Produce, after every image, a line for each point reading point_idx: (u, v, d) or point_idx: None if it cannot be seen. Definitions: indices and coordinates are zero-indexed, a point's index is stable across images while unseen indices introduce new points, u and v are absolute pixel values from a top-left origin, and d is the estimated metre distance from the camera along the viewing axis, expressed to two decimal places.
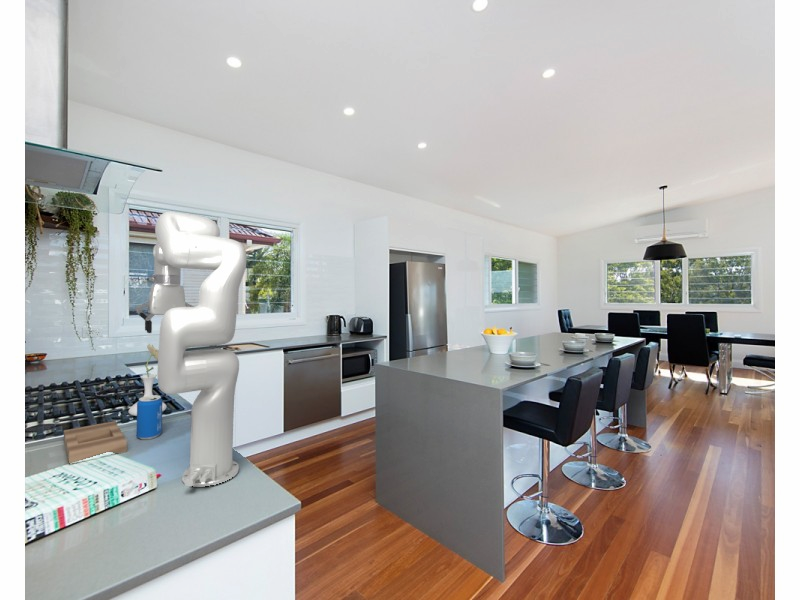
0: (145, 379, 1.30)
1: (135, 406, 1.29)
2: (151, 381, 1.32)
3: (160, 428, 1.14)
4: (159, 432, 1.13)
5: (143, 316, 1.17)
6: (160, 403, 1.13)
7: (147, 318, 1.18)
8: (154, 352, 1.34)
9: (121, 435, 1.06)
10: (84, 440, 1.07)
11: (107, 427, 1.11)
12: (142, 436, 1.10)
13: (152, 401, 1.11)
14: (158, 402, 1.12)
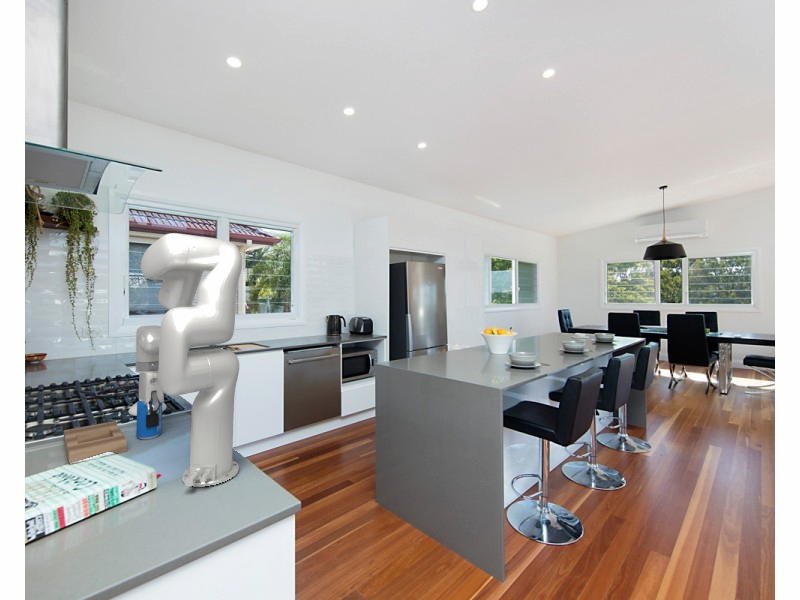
0: None
1: (135, 406, 1.29)
2: None
3: (160, 428, 1.14)
4: (159, 432, 1.13)
5: None
6: (160, 403, 1.13)
7: (158, 411, 1.11)
8: None
9: (121, 435, 1.06)
10: (84, 440, 1.07)
11: (107, 427, 1.11)
12: (142, 436, 1.10)
13: None
14: (158, 402, 1.12)
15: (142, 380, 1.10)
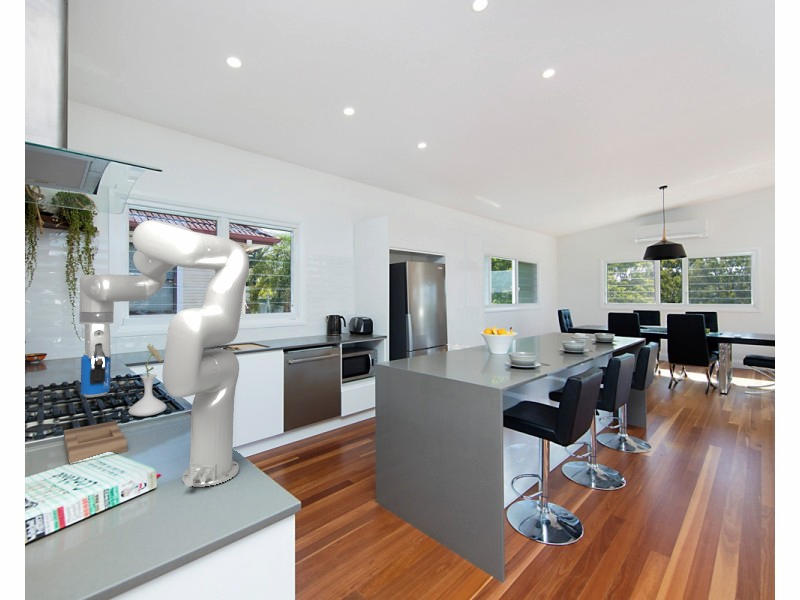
0: (145, 379, 1.30)
1: (135, 406, 1.29)
2: (151, 381, 1.32)
3: (108, 386, 1.05)
4: (106, 390, 1.05)
5: None
6: (107, 358, 1.05)
7: None
8: (154, 352, 1.34)
9: (121, 435, 1.06)
10: (84, 440, 1.07)
11: (107, 427, 1.11)
12: (86, 393, 1.02)
13: None
14: (105, 357, 1.04)
15: (86, 332, 1.01)
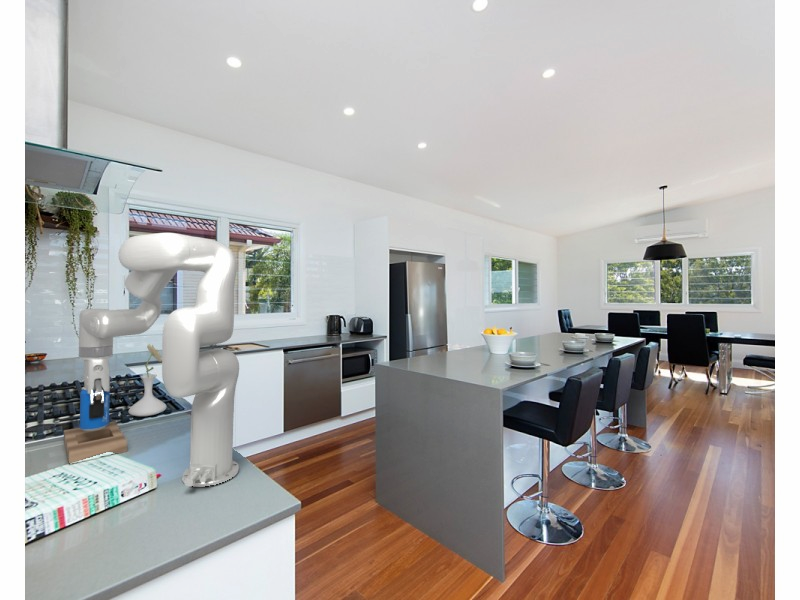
0: (145, 379, 1.30)
1: (135, 406, 1.29)
2: (151, 381, 1.31)
3: (106, 419, 1.06)
4: (105, 423, 1.05)
5: None
6: (106, 392, 1.05)
7: None
8: (154, 352, 1.34)
9: (121, 435, 1.06)
10: (84, 440, 1.07)
11: (107, 427, 1.11)
12: (85, 427, 1.02)
13: None
14: (104, 391, 1.04)
15: (85, 367, 1.02)
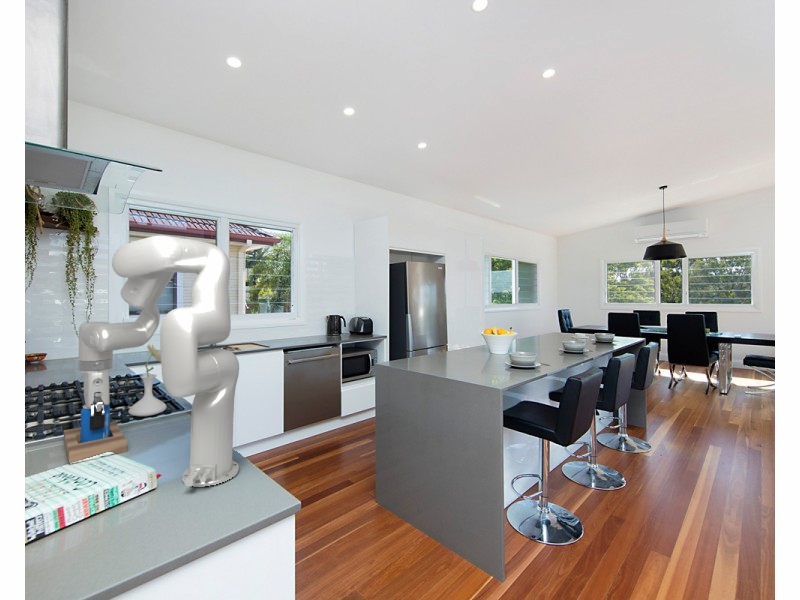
0: (145, 379, 1.30)
1: (135, 406, 1.29)
2: (151, 381, 1.32)
3: (107, 437, 1.06)
4: None
5: None
6: (107, 410, 1.05)
7: (103, 412, 1.02)
8: (154, 352, 1.34)
9: (121, 435, 1.06)
10: None
11: None
12: None
13: None
14: (104, 409, 1.04)
15: (85, 380, 1.02)
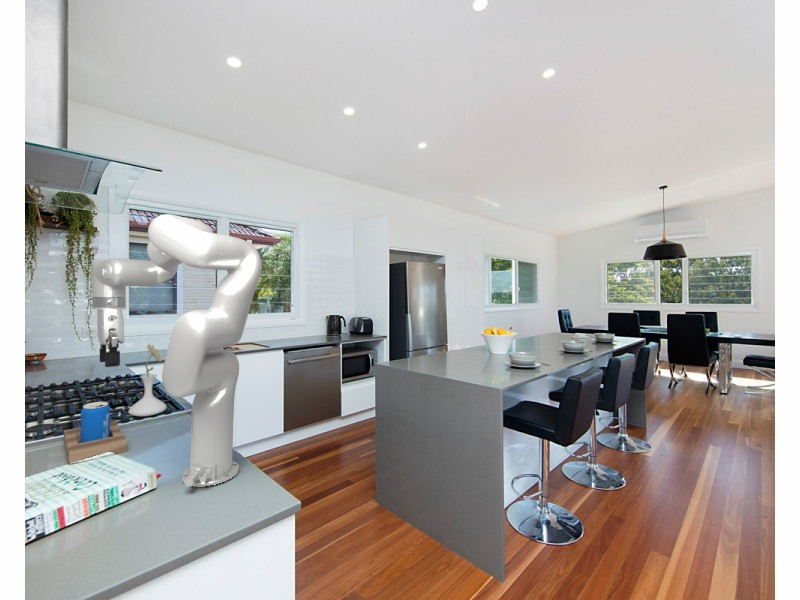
0: (145, 379, 1.30)
1: (135, 406, 1.29)
2: (151, 381, 1.32)
3: (107, 437, 1.06)
4: None
5: None
6: (107, 410, 1.05)
7: (118, 348, 1.01)
8: (154, 352, 1.34)
9: (121, 435, 1.06)
10: None
11: None
12: None
13: (97, 408, 1.03)
14: (104, 409, 1.04)
15: (99, 317, 1.01)
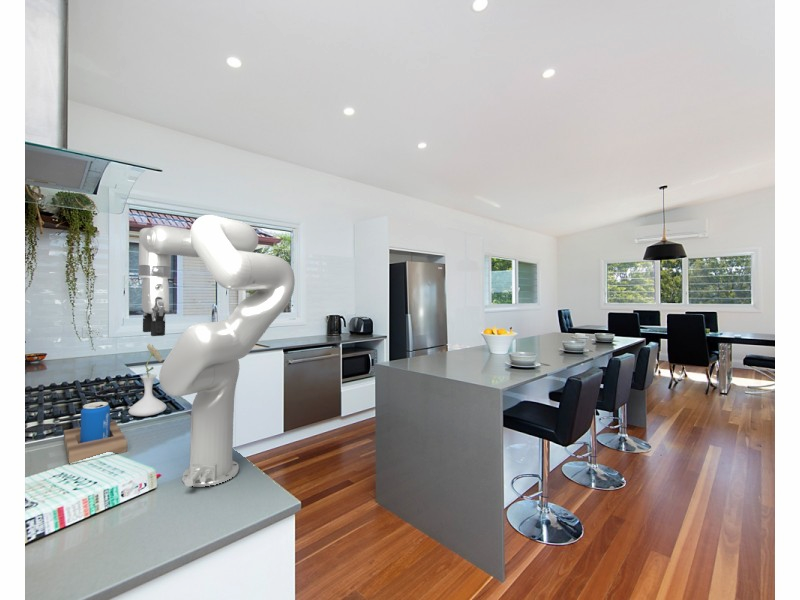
0: (145, 379, 1.30)
1: (135, 406, 1.29)
2: (151, 381, 1.31)
3: (107, 437, 1.06)
4: None
5: None
6: (107, 410, 1.05)
7: (164, 318, 1.00)
8: (154, 352, 1.34)
9: (121, 435, 1.06)
10: None
11: None
12: None
13: (97, 408, 1.03)
14: (104, 409, 1.04)
15: (146, 286, 1.00)
